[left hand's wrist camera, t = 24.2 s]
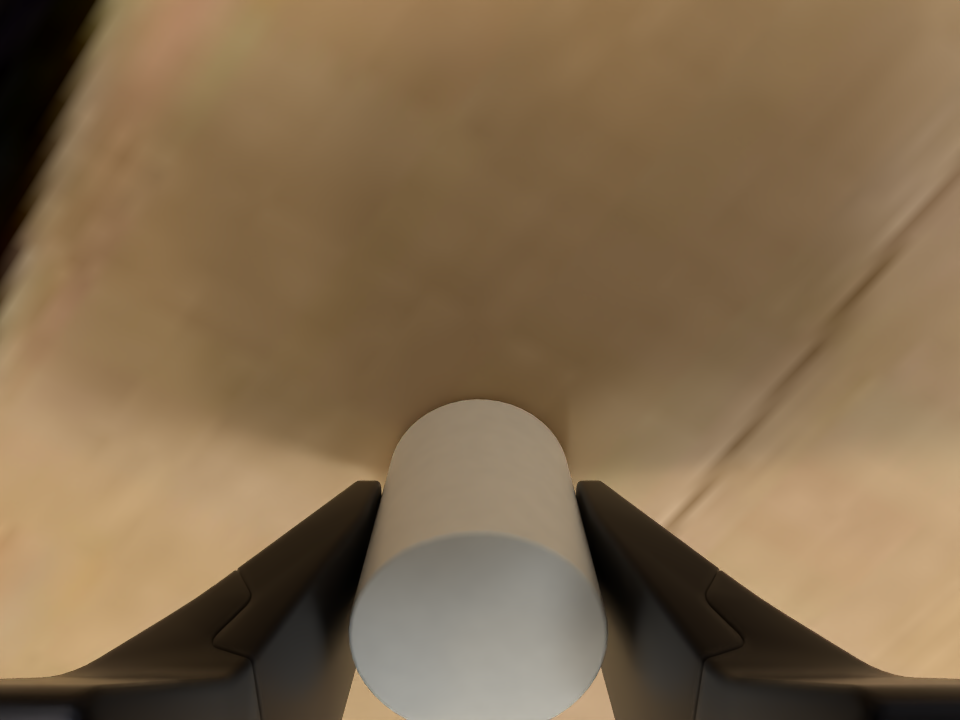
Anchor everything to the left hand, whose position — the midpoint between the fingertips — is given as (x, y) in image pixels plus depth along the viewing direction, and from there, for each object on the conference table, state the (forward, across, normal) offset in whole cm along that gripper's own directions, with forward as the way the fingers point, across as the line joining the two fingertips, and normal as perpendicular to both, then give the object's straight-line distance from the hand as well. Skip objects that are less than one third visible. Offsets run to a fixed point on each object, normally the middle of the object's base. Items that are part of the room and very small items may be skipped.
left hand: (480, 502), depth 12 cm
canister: (+1, 0, 0) cm, 1 cm away
